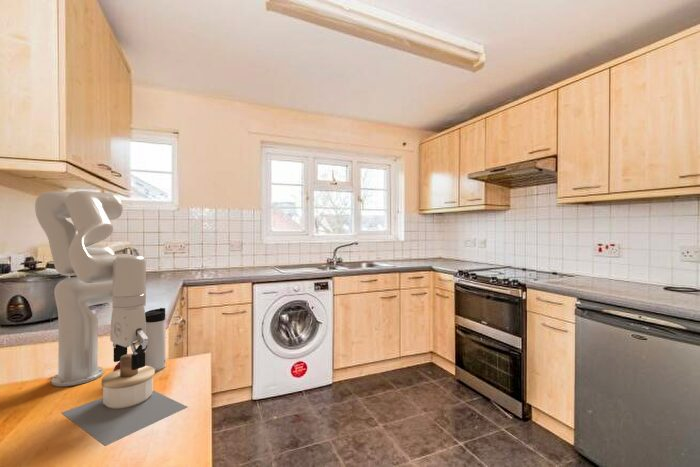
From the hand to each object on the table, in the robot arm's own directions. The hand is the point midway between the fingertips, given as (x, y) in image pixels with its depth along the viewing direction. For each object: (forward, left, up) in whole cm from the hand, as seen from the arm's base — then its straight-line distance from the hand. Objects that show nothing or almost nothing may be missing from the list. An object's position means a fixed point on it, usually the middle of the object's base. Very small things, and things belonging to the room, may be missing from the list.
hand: (129, 364), depth 90 cm
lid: (0, 0, -4) cm, 4 cm away
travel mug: (-15, +15, -10) cm, 23 cm away
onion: (-13, +5, -10) cm, 17 cm away
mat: (+5, -3, -10) cm, 12 cm away
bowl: (0, 0, -9) cm, 9 cm away
